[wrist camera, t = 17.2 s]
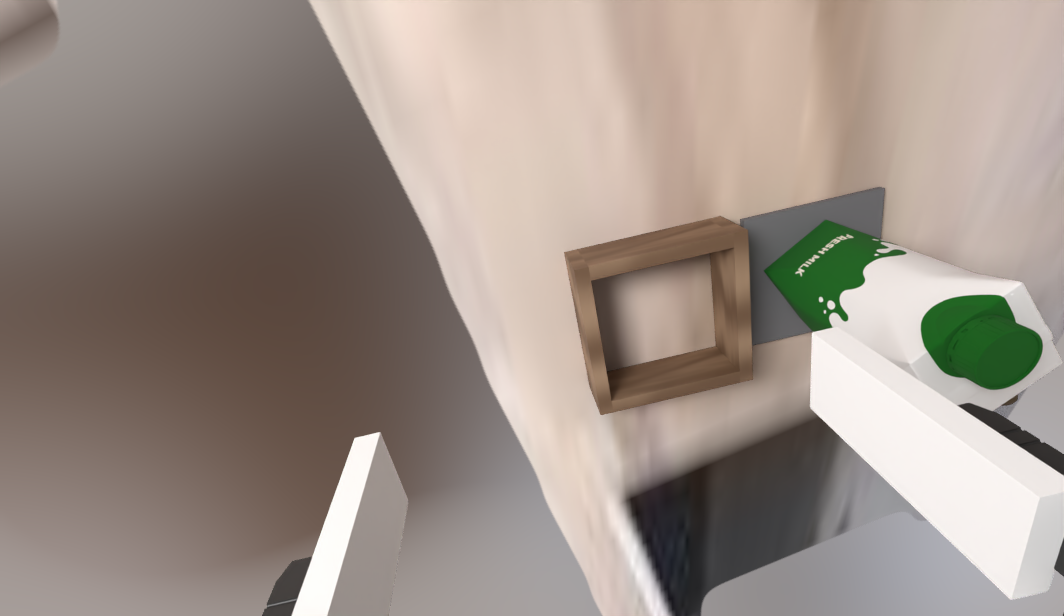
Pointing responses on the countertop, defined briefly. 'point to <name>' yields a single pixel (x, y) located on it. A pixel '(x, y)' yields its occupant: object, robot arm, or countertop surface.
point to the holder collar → (679, 371)
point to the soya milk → (919, 313)
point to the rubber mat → (779, 235)
